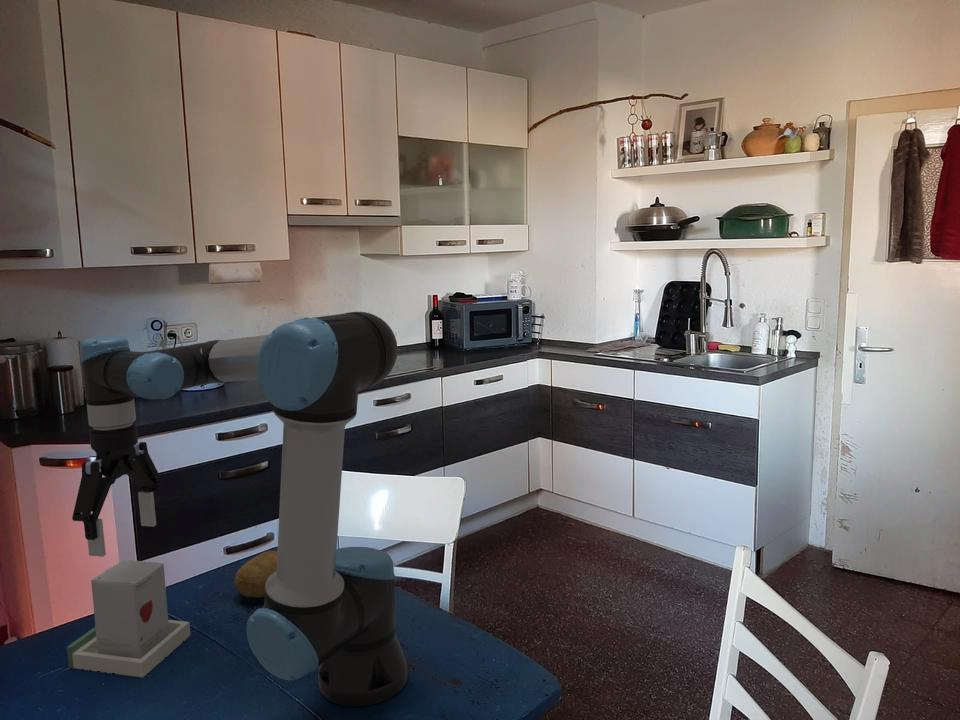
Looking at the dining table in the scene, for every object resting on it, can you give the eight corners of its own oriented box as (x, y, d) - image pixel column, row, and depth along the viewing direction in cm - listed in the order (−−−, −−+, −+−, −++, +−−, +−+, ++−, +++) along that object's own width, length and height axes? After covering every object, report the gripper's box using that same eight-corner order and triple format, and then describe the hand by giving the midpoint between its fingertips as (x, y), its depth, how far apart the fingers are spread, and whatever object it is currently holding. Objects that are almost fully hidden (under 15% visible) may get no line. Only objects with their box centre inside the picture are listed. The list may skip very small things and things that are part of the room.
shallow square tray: (190, 635, 143) (188, 616, 142) (142, 677, 129) (140, 656, 129) (122, 627, 146) (120, 608, 145) (68, 667, 132) (66, 647, 132)
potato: (298, 579, 166) (296, 545, 164) (268, 610, 152) (266, 573, 151) (258, 575, 168) (256, 542, 166) (225, 605, 154) (222, 569, 153)
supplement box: (140, 663, 132) (133, 584, 130) (96, 657, 134) (88, 579, 132) (171, 636, 141) (165, 562, 138) (130, 631, 143) (123, 558, 140)
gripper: (140, 408, 143) (150, 513, 146) (38, 443, 119) (53, 567, 122) (175, 409, 141) (184, 515, 145) (78, 445, 117) (92, 571, 121)
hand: (124, 539), depth 134 cm, fingers open, 13 cm apart
